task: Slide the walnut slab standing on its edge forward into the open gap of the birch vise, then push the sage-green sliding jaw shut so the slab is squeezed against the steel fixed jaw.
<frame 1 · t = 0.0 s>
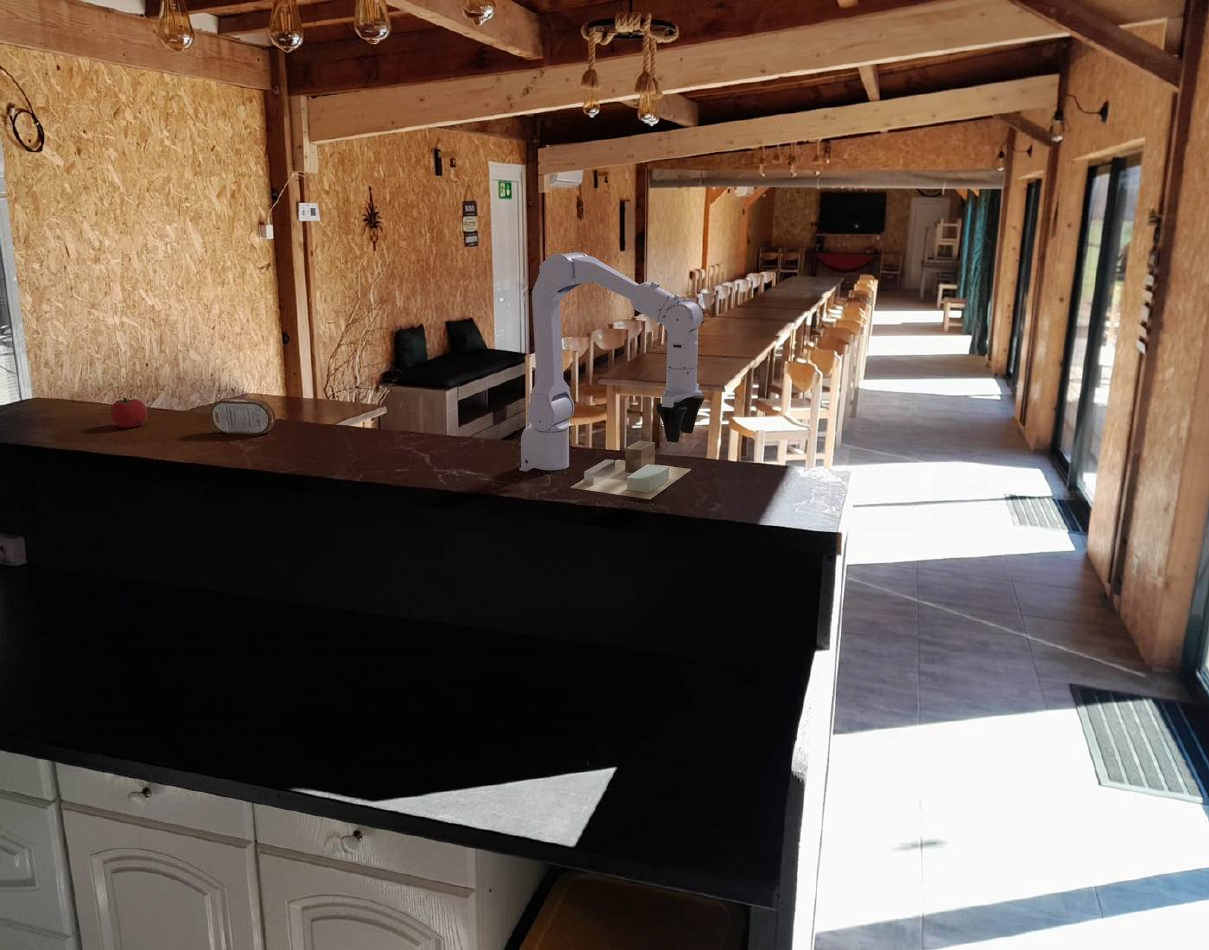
hand: (679, 437, 180), 10 cm above the countertop, tool pointing down, fingers open, 7 cm apart
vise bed: (632, 482, 186), on the countertop
block: (640, 468, 191), point 1 cm above the countertop, touching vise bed
tomato: (130, 427, 229), on the countertop
fixed jaw: (600, 483, 185), resting on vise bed
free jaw: (648, 478, 180), point 2 cm above the countertop, slide at 3.7 cm
tin: (244, 434, 223), on the countertop
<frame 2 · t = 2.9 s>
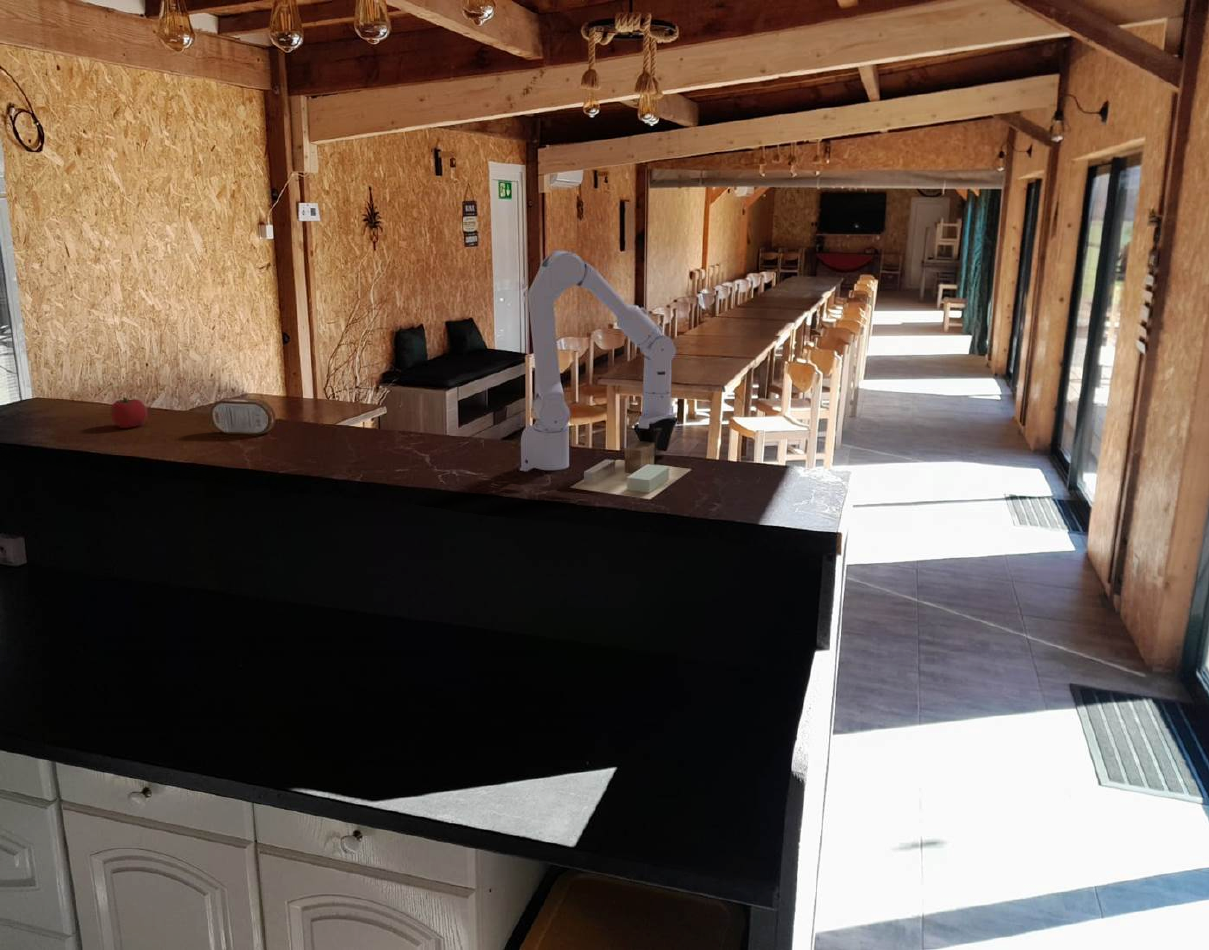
hand: (655, 454, 198), 2 cm above the countertop, tool pointing down, fingers open, 7 cm apart
block: (639, 469, 191), point 1 cm above the countertop, touching gripper, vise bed
everything else where it was.
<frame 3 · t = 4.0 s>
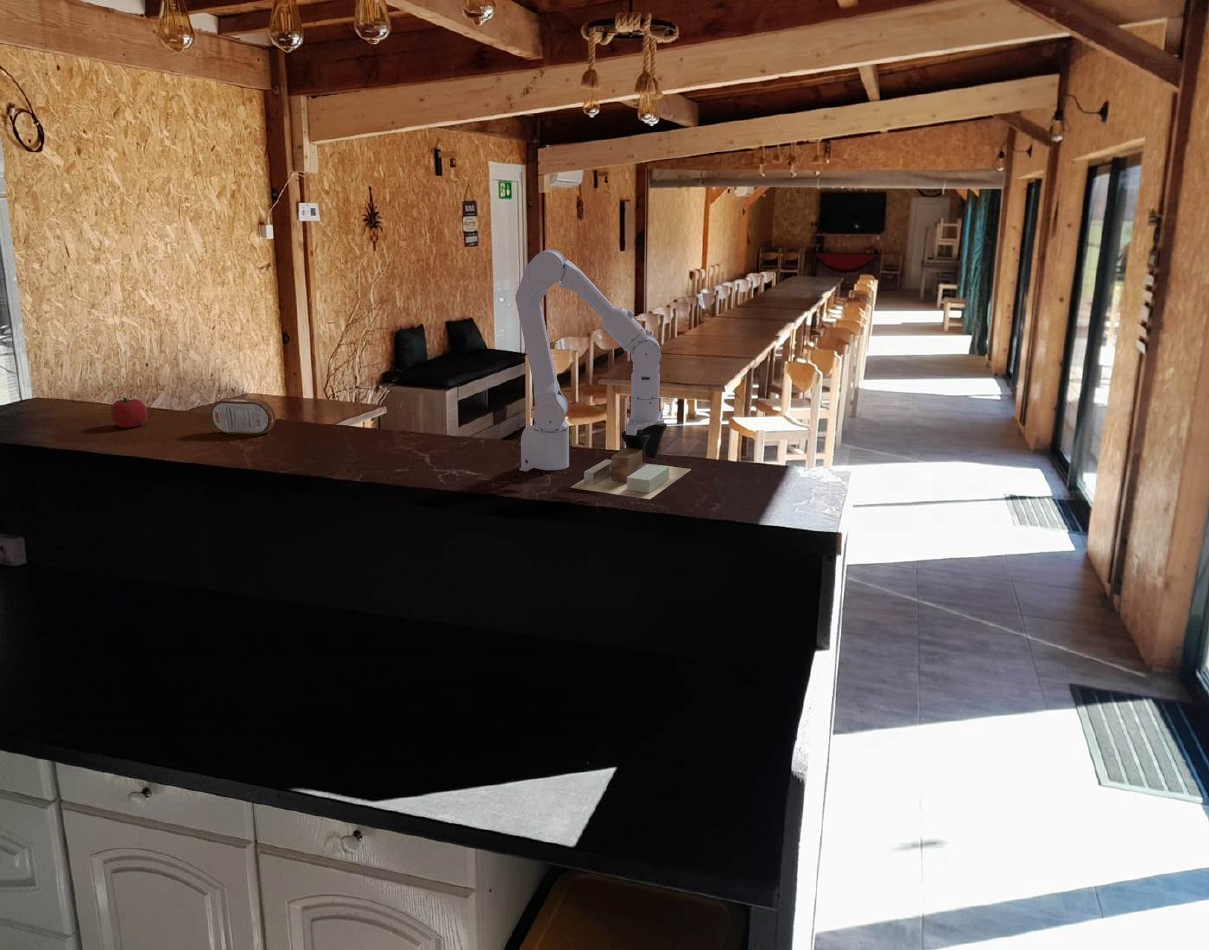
hand: (644, 461, 193), 2 cm above the countertop, tool pointing down, fingers open, 7 cm apart
block: (626, 477, 186), point 1 cm above the countertop, touching gripper
everything else where it was.
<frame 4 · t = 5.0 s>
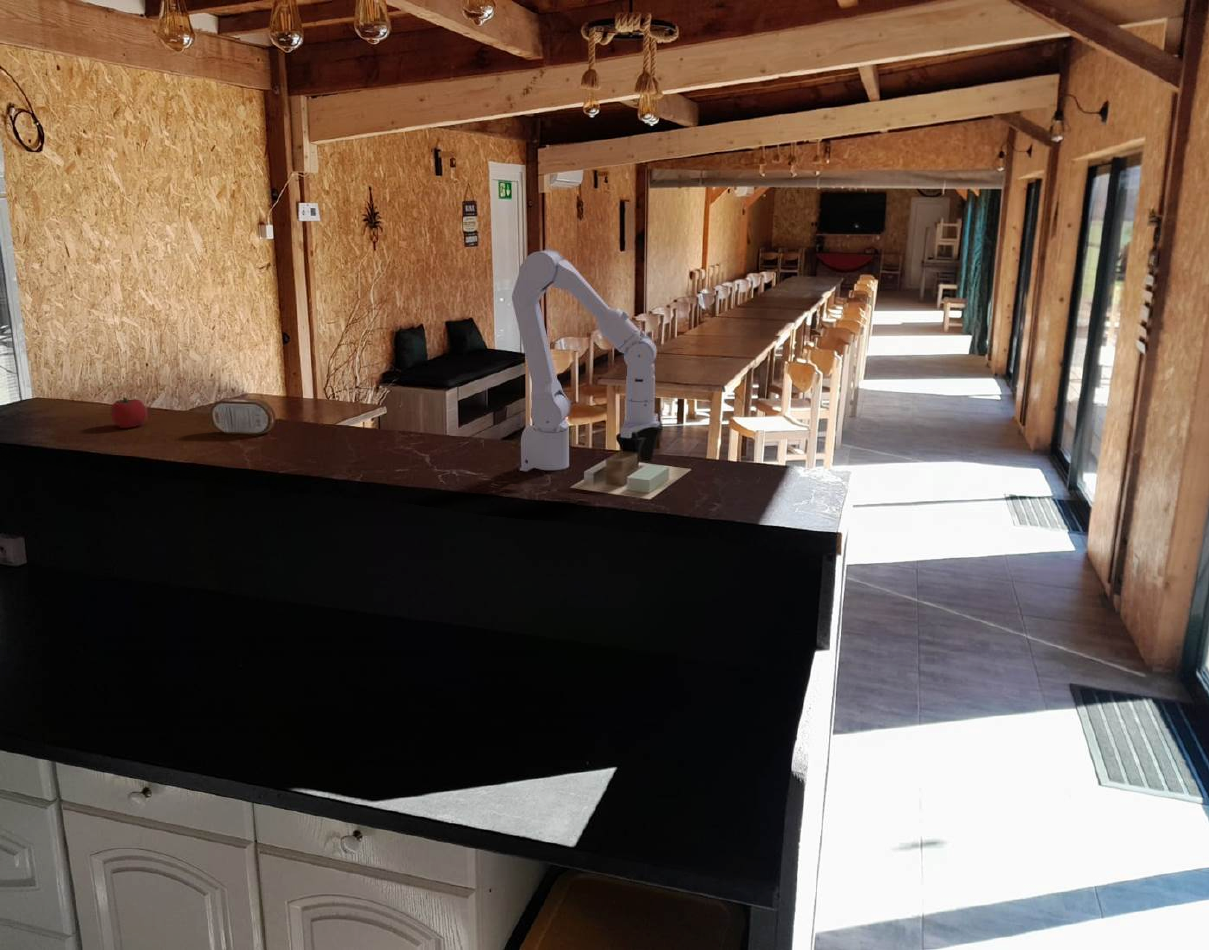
hand: (639, 464, 191), 2 cm above the countertop, tool pointing down, fingers open, 7 cm apart
block: (621, 480, 183), point 1 cm above the countertop, touching gripper, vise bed
everything else where it was.
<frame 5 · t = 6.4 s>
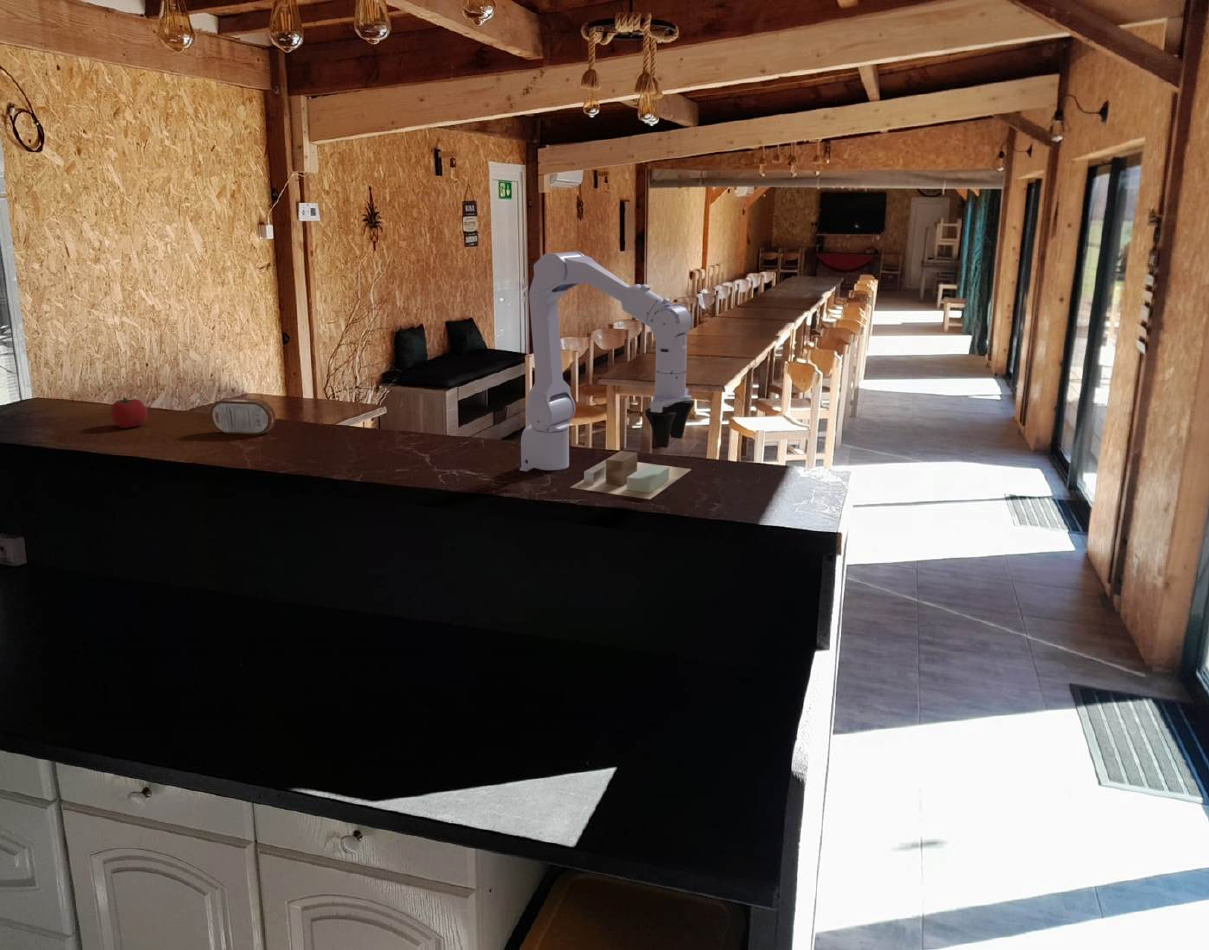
hand: (669, 442, 178), 10 cm above the countertop, tool pointing down, fingers open, 7 cm apart
block: (621, 480, 183), point 1 cm above the countertop, touching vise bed
everything else where it was.
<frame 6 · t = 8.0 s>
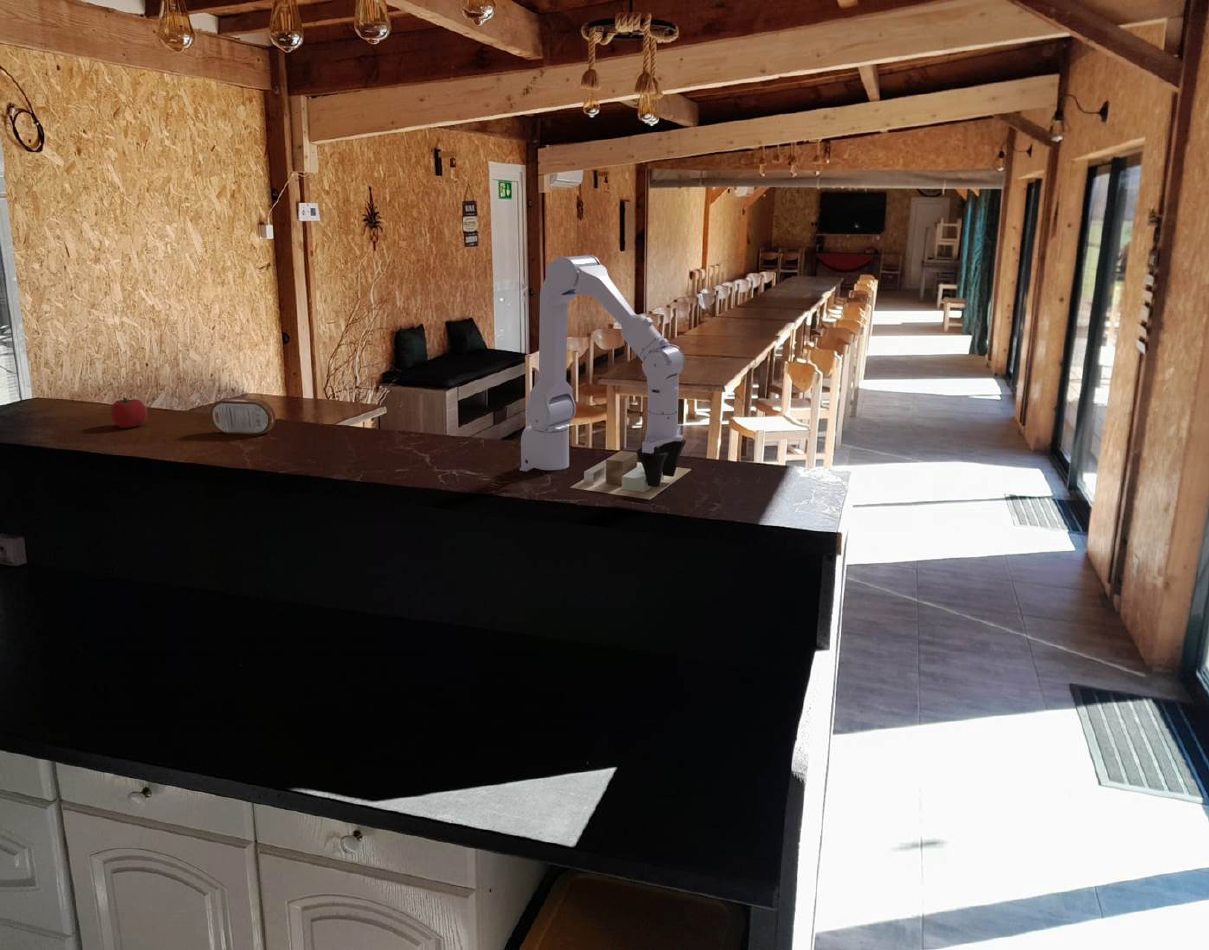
hand: (661, 480, 179), 2 cm above the countertop, tool pointing down
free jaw: (643, 477, 181), point 2 cm above the countertop, slide at 2.6 cm, touching gripper
everything else where it was.
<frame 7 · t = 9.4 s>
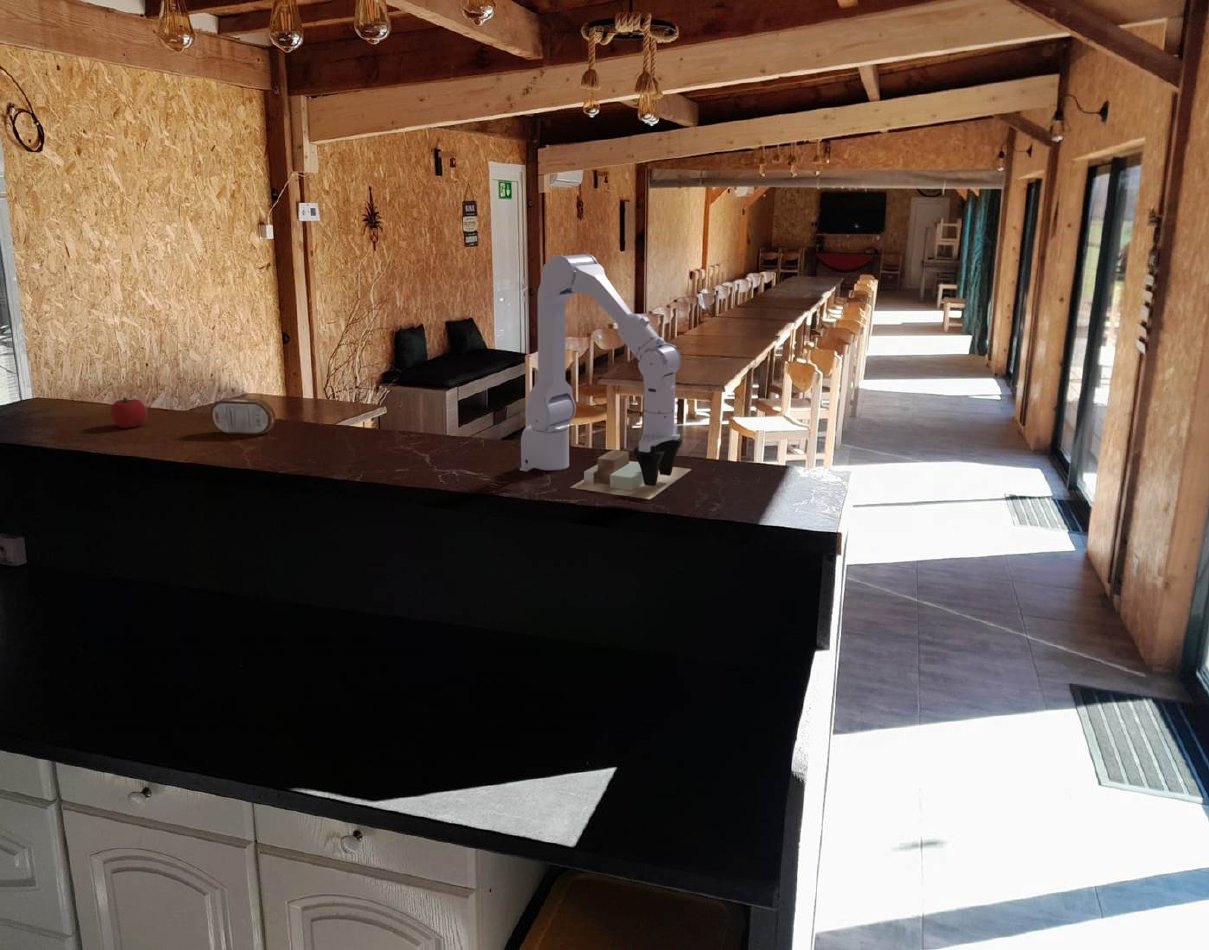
hand: (657, 479, 180), 2 cm above the countertop, tool pointing down, fingers open, 7 cm apart
block: (613, 479, 184), point 1 cm above the countertop, touching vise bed
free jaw: (631, 475, 182), point 2 cm above the countertop, slide at 0.2 cm
everything else where it was.
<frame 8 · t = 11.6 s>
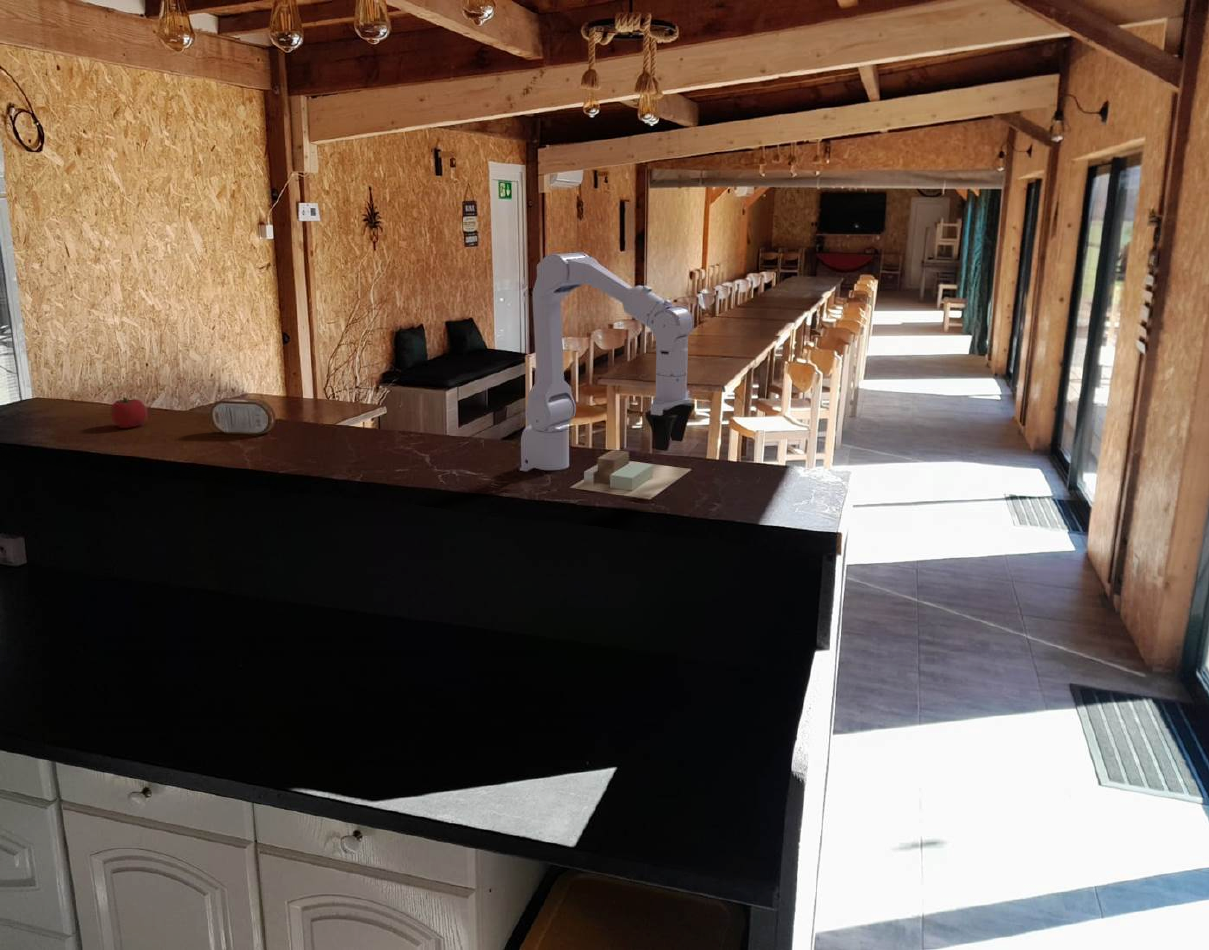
hand: (669, 445, 177), 9 cm above the countertop, tool pointing down, fingers open, 7 cm apart
nothing on the countertop moved.
at the end: block 0.3 cm from the target spot on the countertop beside the fixed jaw, point 1.0 cm above the countertop; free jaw slide at 0.2 cm; block tilted 0° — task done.
